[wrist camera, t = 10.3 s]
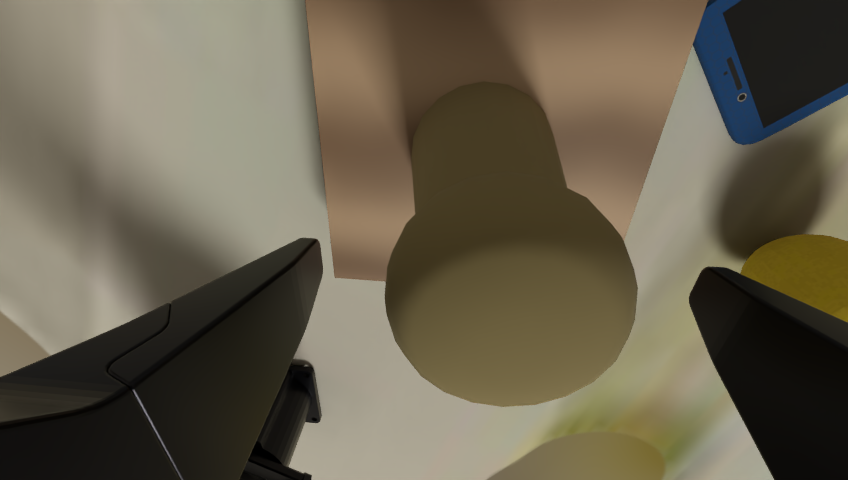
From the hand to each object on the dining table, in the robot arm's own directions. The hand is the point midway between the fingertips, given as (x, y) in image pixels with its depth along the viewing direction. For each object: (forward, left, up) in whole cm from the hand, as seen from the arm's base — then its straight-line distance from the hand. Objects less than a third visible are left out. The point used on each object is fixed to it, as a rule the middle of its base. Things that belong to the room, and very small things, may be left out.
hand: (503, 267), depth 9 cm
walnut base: (0, 0, -12) cm, 12 cm away
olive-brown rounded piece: (0, 0, -9) cm, 9 cm away
